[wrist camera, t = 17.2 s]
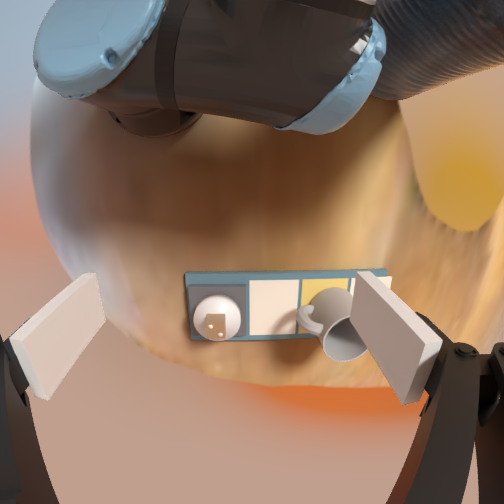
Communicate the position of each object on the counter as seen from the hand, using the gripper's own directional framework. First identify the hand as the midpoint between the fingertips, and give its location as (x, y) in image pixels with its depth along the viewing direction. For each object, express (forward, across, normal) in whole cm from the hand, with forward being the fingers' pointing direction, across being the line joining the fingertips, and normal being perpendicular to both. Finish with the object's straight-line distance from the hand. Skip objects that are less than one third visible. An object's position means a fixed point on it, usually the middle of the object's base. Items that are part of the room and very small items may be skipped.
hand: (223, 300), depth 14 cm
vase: (+27, +21, +25) cm, 42 cm away
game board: (+27, +8, -14) cm, 31 cm away
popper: (+24, -2, -14) cm, 28 cm away
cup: (+26, +13, -14) cm, 32 cm away
